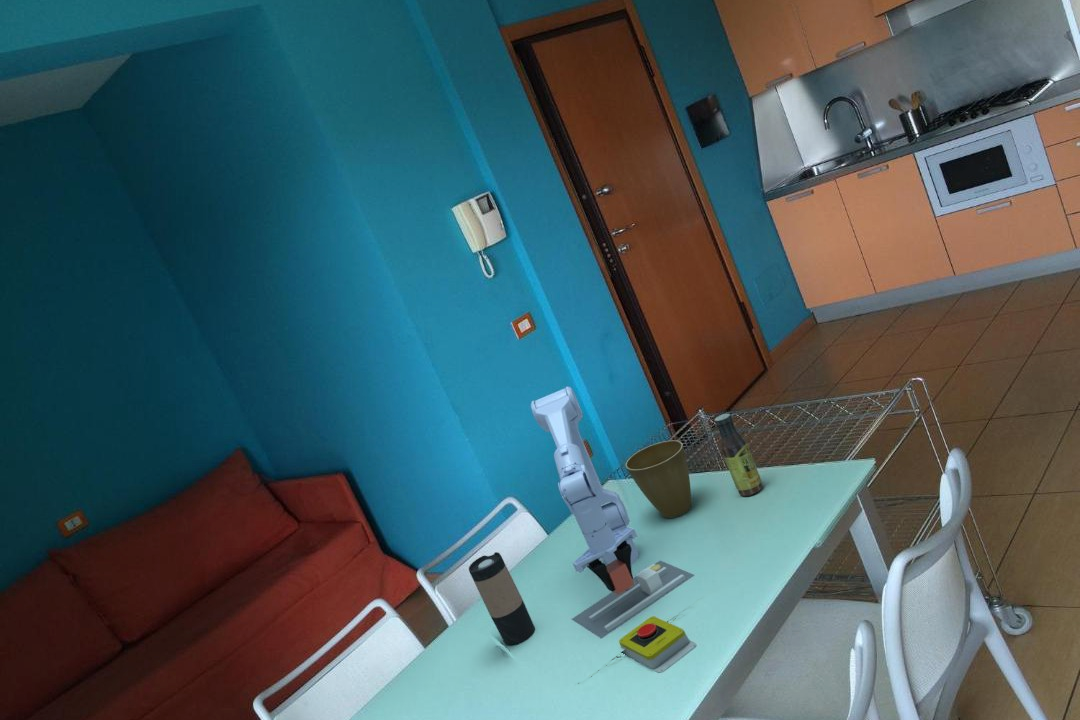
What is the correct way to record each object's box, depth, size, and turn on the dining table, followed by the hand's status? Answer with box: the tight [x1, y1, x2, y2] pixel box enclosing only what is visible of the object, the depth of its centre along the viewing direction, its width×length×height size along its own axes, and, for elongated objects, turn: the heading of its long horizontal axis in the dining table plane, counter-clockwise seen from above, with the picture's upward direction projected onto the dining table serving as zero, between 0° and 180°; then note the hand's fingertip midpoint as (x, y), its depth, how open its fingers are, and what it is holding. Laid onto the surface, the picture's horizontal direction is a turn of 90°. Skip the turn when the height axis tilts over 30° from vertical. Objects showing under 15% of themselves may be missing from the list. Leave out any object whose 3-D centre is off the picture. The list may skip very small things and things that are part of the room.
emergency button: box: [618, 616, 697, 674], centre depth 172 cm, size 9×4×15 cm
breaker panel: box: [571, 560, 695, 639], centre depth 192 cm, size 14×24×2 cm, turn 114°
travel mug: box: [468, 552, 536, 647], centre depth 196 cm, size 8×8×20 cm
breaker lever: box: [635, 567, 663, 595], centre depth 191 cm, size 4×3×4 cm
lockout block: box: [605, 559, 634, 594], centre depth 188 cm, size 4×4×5 cm
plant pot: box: [625, 439, 692, 519], centre depth 226 cm, size 15×15×16 cm
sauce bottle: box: [714, 413, 763, 497], centre depth 219 cm, size 7×6×20 cm
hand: (620, 583), depth 188 cm, fingers closed on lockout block, 4 cm apart
